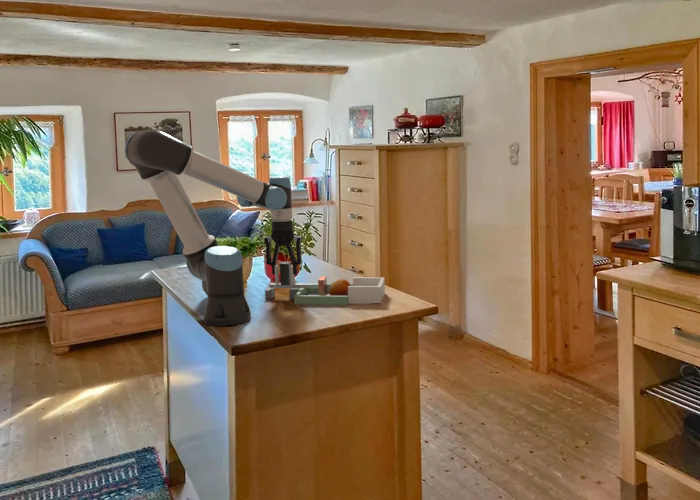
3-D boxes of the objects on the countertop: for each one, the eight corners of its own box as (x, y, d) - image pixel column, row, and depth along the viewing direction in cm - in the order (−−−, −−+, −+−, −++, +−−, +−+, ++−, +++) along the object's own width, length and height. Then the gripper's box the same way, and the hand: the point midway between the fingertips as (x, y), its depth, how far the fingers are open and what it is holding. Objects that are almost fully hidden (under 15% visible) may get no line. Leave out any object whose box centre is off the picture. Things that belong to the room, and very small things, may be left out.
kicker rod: (268, 298, 231) (266, 264, 229) (272, 294, 237) (271, 261, 234) (324, 298, 228) (323, 264, 226) (327, 294, 234) (326, 261, 231)
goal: (348, 303, 223) (347, 286, 221) (353, 293, 237) (353, 277, 235) (381, 303, 221) (380, 287, 220) (384, 293, 235) (384, 277, 234)
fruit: (354, 297, 225) (341, 278, 224) (335, 308, 227) (323, 289, 226) (358, 291, 233) (346, 273, 232) (340, 302, 235) (328, 283, 234)
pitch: (260, 304, 225) (259, 295, 224) (273, 291, 243) (273, 282, 242) (347, 305, 221) (347, 296, 220) (354, 291, 238) (354, 283, 238)
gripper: (254, 221, 225) (258, 285, 230) (304, 221, 223) (307, 285, 227) (259, 218, 233) (263, 280, 237) (309, 218, 230) (311, 280, 234)
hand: (285, 283), depth 232 cm, fingers open, 5 cm apart
